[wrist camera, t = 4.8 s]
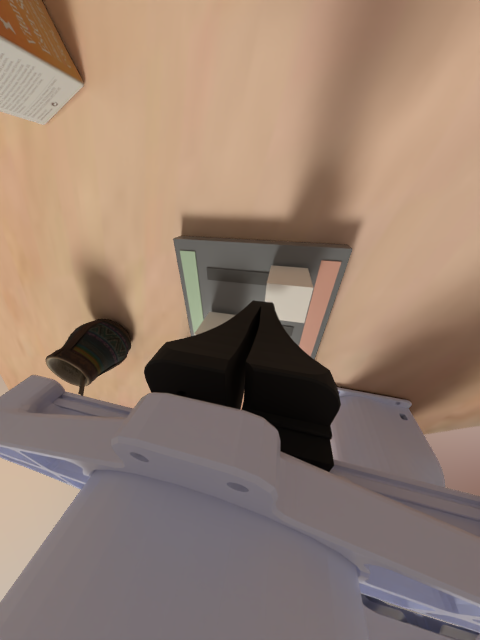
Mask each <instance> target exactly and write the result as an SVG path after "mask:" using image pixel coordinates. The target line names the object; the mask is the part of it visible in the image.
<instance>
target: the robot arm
mask: <svg viewBox="0 0 480 640" xmlns="http://www.w3.org/2000/svg"><path fill="white" fill-rule="evenodd" d="M144 374H145V378H146V381H147V383H148V386H149V388H150V390H151V392H152V393H149V394H147V395H146V396H144V397H142V398H141V399H140V401H139V402H138V403H137V405H136V406H135V407H134V409H133V408H129V407H125V406H121V405H117V404H113V403H109V402H105V401H101V400H97V399H93V398H89V397H85V396H81V395H77V394H73V393H69V392H65V389H64V388H63V387H62V386H61V384H59V383H58V382H57V381H55V380H53V379H50V378H46V377H42V376H38V375H31V376H30V377H28V378H27V379H25V380H24V381H22V382H21V383H20V384H18V385H17V386H15V387H14V388H12V389H11V390H9V391H8V392H6V393H5V394H3V395H2V396H1V397H0V457H1V458H3V459H5V460H8V461H10V462H13V463H16V464H18V465H21V466H24V467H26V468H29V469H32V470H34V471H37V472H39V473H42V474H44V475H46V476H49V477H51V478H54V479H57V480H59V481H61V482H64V483H66V484H69V485H71V486H73V487H76V488H78V489H81V491H80V492H79V493H78V495H77V496H76V497H75V499H74V500H73V502H72V503H71V504H70V506H69V507H68V509H67V510H66V511H65V513H64V514H63V516H62V517H61V519H60V520H59V521H58V523H57V524H56V525H55V527H54V528H53V530H52V531H51V532H50V534H49V535H48V537H47V538H46V540H45V541H44V542H43V544H42V545H41V546H40V548H39V549H38V551H37V552H36V553H35V555H34V556H33V558H32V559H31V560H30V562H29V563H28V565H27V566H26V567H25V569H24V570H23V572H22V573H21V574H20V576H19V577H18V579H17V580H16V581H15V583H14V584H13V586H12V587H11V588H10V590H9V591H8V593H7V594H6V595H5V597H4V598H3V600H2V601H1V602H0V640H480V496H477V495H473V494H469V493H465V492H461V491H457V490H453V489H449V488H445V480H444V475H443V472H442V469H441V466H440V463H439V461H438V459H437V457H436V456H435V454H434V452H433V450H432V448H431V447H430V445H429V443H428V441H427V440H426V438H425V436H424V434H423V433H422V431H421V429H420V427H419V426H418V424H417V422H416V420H415V419H414V417H413V415H412V413H411V412H410V410H409V408H410V407H411V405H412V404H411V402H410V401H408V400H403V399H398V398H393V397H387V396H382V395H376V394H371V393H365V392H360V391H354V390H349V389H344V388H338V387H337V386H336V384H335V382H334V379H333V377H332V374H331V372H330V370H328V369H327V368H326V367H324V366H323V365H321V364H320V363H318V362H317V361H315V360H314V359H313V358H311V357H310V356H309V355H308V354H307V353H305V352H304V351H303V350H302V349H301V348H300V347H299V346H298V345H297V344H296V343H295V342H294V341H293V340H292V338H291V337H290V336H289V335H288V333H287V332H286V330H285V329H284V327H283V325H282V324H281V322H280V320H279V318H278V316H277V313H276V311H275V307H274V304H273V303H272V302H263V301H254V300H253V301H252V302H251V303H249V304H248V305H247V306H246V307H245V308H244V309H243V310H241V311H240V312H239V313H238V314H237V315H235V316H234V317H232V318H231V319H230V320H228V321H226V322H225V323H223V324H221V325H219V326H217V327H215V328H213V329H210V330H208V331H206V332H203V333H200V334H197V335H194V336H191V337H187V338H184V339H179V340H175V341H170V342H166V343H165V344H164V345H163V346H162V347H161V348H160V350H159V351H158V352H157V353H156V354H155V355H154V357H153V358H152V359H151V360H150V361H149V362H148V364H147V365H146V367H145V370H144ZM243 394H244V402H243V407H242V410H240V409H241V403H242V399H243ZM330 442H331V443H330ZM331 448H332V449H331ZM332 453H333V455H332ZM381 600H382V601H386V602H388V603H391V604H395V605H397V606H400V607H404V608H406V609H410V610H412V611H415V612H419V613H422V614H425V615H428V616H431V617H434V618H437V619H440V620H443V621H446V622H449V623H452V624H455V625H452V624H449V623H446V622H443V621H439V620H436V619H433V618H430V617H427V616H423V615H420V614H417V613H414V612H410V611H407V610H404V609H400V608H398V607H394V606H391V605H388V604H386V603H384V602H382V601H381ZM456 625H458V626H456Z"/></svg>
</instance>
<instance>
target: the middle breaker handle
mask: <svg viewBox="0 0 480 640" xmlns="http://www.w3.org/2000/svg"><path fill="white" fill-rule="evenodd" d="M234 316H235V315H232V314H224V313H216V312H209V313H208V315H207V316H206V317H205V319H204V320H203V322H202V323H201V325H200V326H199V328H198V329H197V330H196V332H195V333H194V335H197V334H200V333H203V332H206V331H208V330H210V329H213V328H215V327H217V326H219V325H221V324H223V323H225V322H226V321H228V320H230V319H231V318H232V317H234Z"/></svg>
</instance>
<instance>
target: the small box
mask: <svg viewBox="0 0 480 640" xmlns="http://www.w3.org/2000/svg"><path fill="white" fill-rule="evenodd" d="M83 86H84V83H83V81H82V78H81V77H80V75H79V73H78V71H77V69H76V67H75V65H74V63H73V61H72V60H71V58H70V56H69V54H68V52H67V50H66V48H65V46H64V44H63V42H62V40H61V38H60V36H59V34H58V32H57V30H56V28H55V26H54V24H53V22H52V20H51V18H50V16H49V14H48V12H47V10H46V8H45V6H44V4H43V2H42V0H0V112H4V113H7V114H10V115H13V116H17V117H20V118H23V119H26V120H29V121H33V122H36V123H39V124H43V125H44V124H46V123H47V122H48V121H49V120H50V119H51V118H52V117H53V116H54V115H55V114H56V113H57V112H58V111H59V110H60V109H61V108H62V107H63V106H64V105H65V104H66V103H67V102H68V101H69V100H70V99H71V98H72V97H73V96H74V95H75V94H76V93H77V92H78V91H79V90H80V89H81V88H82V87H83Z"/></svg>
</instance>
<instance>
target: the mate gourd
mask: <svg viewBox="0 0 480 640" xmlns="http://www.w3.org/2000/svg"><path fill="white" fill-rule="evenodd" d="M130 349H131V340H130V337H129V334H128V332H127V331H126V330H125V329H124V328H123V327H122V326H120V325H119V324H117V323H115V322H112V321H111V320H106V319H98V320H95V321H92V322H89V323H86V324H83V325H81V326H80V327H78V328H76V330H75V331H74V332H73V333H72V334H71V335H70V337H69V338H68V340H67V342H66V343H65V344H64V346H63V347H62V348H61V349H59V350H56V351H55V352H54V353H52V354H51V355H49V356H47V358H46V364H47V366H48V367H49V369H50V370H51V371H52V372H53V373H54V374H55V375H57V376H58V377H59V378H61V379H62V380H64V381H66V382H68V383H70V384H73V385H76V386H79V387H80V388H79V393H78V394H81V396H83V393H84V387H85V386H87V385H89V384H91V383H92V381H94V380H95V379H96V378H97V377H98V376H100V375H101V374H103V373H105V372H107V371H109V370H111V369H112V368H114V367H116V366H117V365H119V364H120V363H122V362H123V361H124V359H125V358H126V357H127V354H128V351H129V350H130Z"/></svg>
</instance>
